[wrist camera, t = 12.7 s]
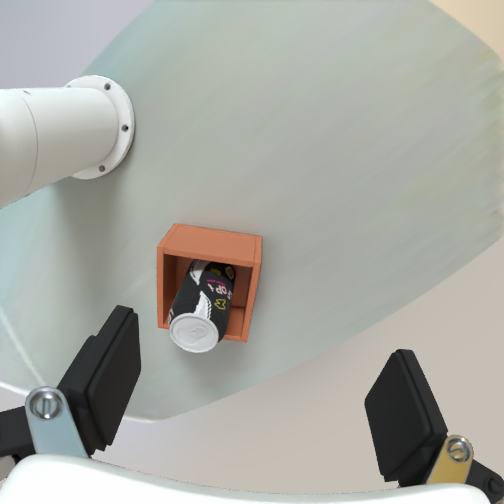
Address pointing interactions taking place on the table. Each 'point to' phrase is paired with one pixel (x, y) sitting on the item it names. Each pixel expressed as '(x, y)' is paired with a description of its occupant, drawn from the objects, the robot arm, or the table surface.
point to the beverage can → (202, 306)
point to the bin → (211, 249)
